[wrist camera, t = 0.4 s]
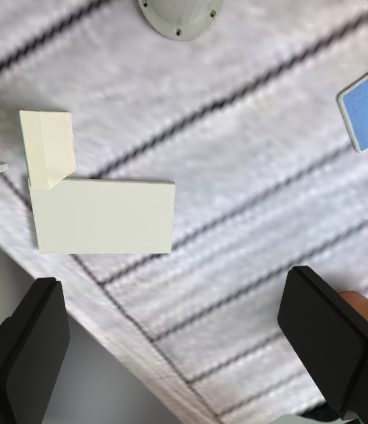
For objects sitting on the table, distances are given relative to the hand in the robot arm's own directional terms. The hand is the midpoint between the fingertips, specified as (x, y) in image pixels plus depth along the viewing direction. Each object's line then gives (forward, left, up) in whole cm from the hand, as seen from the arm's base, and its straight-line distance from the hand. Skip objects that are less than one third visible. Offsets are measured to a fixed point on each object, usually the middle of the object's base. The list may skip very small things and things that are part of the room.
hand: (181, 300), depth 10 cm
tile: (-2, -14, -35) cm, 38 cm away
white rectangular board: (+11, -8, -35) cm, 38 cm away
